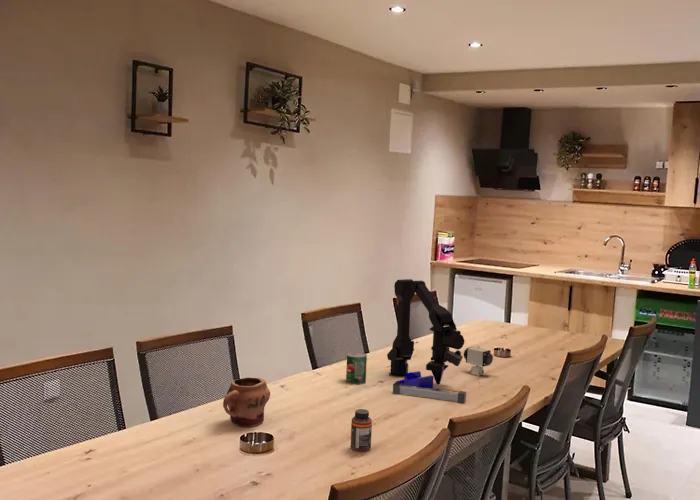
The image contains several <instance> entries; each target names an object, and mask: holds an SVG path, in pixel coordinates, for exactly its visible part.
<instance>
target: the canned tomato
mask: <svg viewBox="0 0 700 500" xmlns="http://www.w3.org/2000/svg"><path fill="white" fill-rule="evenodd" d="M367 357H368V354H366V353H364V352H358V351H357V352H356V351H354V352H353V351H351V352H348V353H346V373H345V375H346V376H345V382H346V383H347V384H350V385H353V384H356V385H355V386H357V385H359V386H360V385H361V384H362V385H365V384H366V383H367V365H368V364H367V361H368V360H367V359H368V358H367ZM362 385H361V386H362Z"/></svg>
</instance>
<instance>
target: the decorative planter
mask: <svg viewBox="0 0 700 500" xmlns="http://www.w3.org/2000/svg"><path fill="white" fill-rule="evenodd" d="M270 398H271V391H270V389H269V388H268V385H267V382H266V380H265V379H263V378H261V377H244V378H238V379H234V380H232V381H231V383H230V385H229V388H228V390H227V392H226V395H224V398H223V403H222V407H223V409H224V411H225V413H226V414H228V415H229V417H230V421H231V424H233V423H234V424H233V425H235V424H236V425H235V426H237V425H240V426H239V427H243V426H244V427H247V428H248V427H254V426H258V425H261V424H262V423H263V422H264V421H265V407H266V404H267V403H268V402H269V400H270Z"/></svg>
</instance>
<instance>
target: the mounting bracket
mask: <svg viewBox="0 0 700 500" xmlns="http://www.w3.org/2000/svg"><path fill="white" fill-rule="evenodd" d="M403 378H404V379H402V380H397V381H395V382H397V383H402V385H408V386H415V387H423V388H430V389H437V390H441V389H440V388H437V387H435V386H434V376H433V374H432V375H427V376H422V373H421V371H419V370H417V371H411V372H408V373H405V376H404V377H403Z"/></svg>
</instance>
